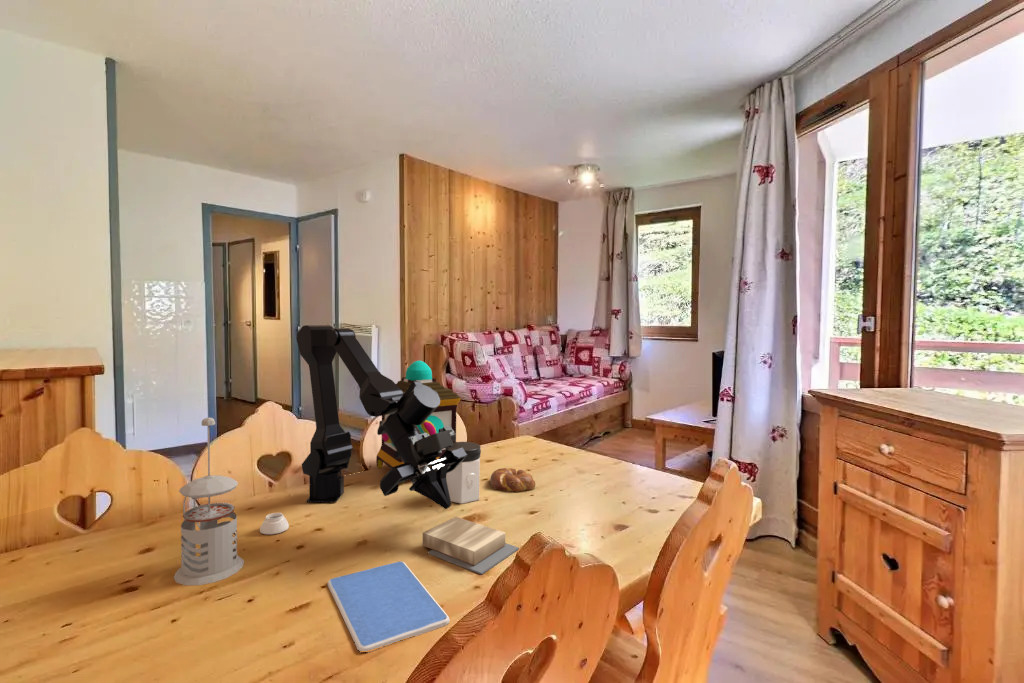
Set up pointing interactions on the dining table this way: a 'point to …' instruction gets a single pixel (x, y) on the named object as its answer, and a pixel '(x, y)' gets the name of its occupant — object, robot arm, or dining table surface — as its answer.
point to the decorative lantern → (434, 422)
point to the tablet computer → (385, 605)
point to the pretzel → (512, 480)
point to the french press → (208, 531)
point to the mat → (482, 565)
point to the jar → (465, 475)
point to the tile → (464, 540)
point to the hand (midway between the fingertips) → (448, 507)
